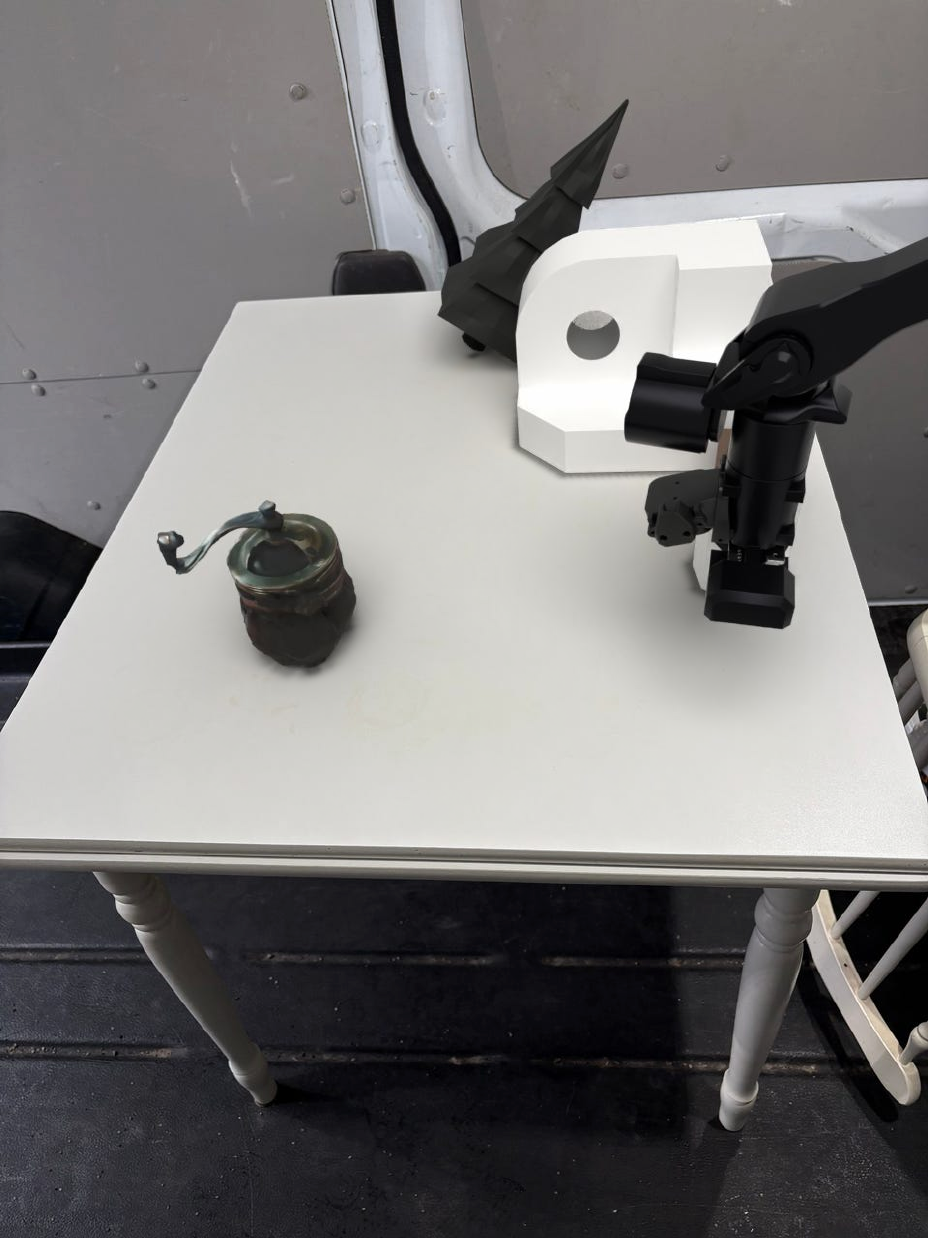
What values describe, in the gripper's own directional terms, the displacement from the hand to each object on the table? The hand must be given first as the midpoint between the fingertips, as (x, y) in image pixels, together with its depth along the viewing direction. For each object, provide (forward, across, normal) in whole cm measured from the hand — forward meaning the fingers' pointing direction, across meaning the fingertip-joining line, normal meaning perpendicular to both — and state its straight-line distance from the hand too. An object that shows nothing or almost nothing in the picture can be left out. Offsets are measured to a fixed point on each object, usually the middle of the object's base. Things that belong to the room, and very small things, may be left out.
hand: (737, 608), depth 73 cm
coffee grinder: (+5, +8, -40) cm, 41 cm away
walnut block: (+4, -22, 0) cm, 22 cm away
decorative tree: (+4, -52, -29) cm, 60 cm away
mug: (+4, -7, 0) cm, 9 cm away
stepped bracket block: (+4, -33, -14) cm, 36 cm away
